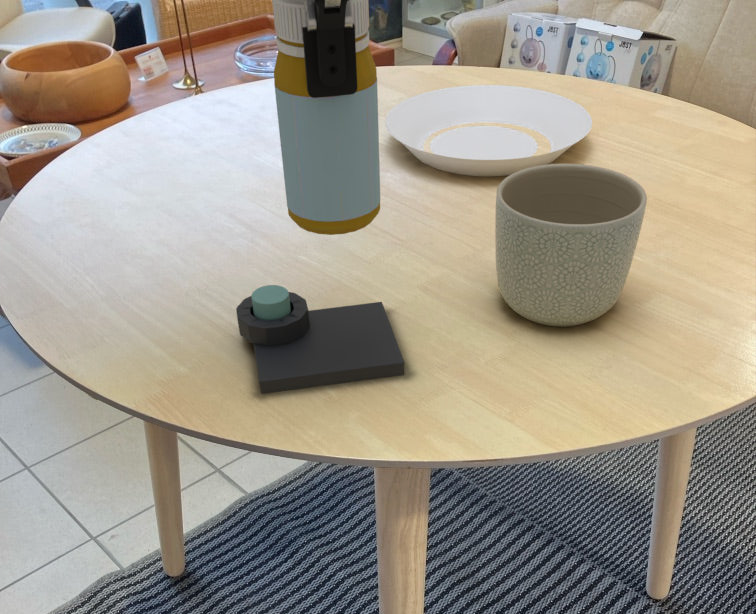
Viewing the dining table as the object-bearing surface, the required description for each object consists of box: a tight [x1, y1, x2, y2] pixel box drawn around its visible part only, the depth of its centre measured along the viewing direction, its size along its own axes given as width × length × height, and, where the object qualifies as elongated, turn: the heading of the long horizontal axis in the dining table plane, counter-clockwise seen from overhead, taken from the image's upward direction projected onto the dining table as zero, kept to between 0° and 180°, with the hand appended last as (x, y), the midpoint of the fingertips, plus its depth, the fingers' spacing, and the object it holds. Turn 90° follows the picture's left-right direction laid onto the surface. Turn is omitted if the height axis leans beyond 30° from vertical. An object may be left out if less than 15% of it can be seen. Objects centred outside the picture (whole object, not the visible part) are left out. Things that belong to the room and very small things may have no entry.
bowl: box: [384, 84, 593, 177], centre depth 105 cm, size 25×25×4 cm
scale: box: [235, 291, 405, 395], centre depth 74 cm, size 13×11×4 cm
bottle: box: [271, 0, 381, 236], centre depth 60 cm, size 7×7×15 cm
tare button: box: [250, 284, 291, 320], centre depth 73 cm, size 3×3×2 cm
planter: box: [494, 163, 648, 328], centre depth 75 cm, size 12×12×11 cm
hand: (324, 73), depth 58 cm, fingers closed on bottle, 7 cm apart
